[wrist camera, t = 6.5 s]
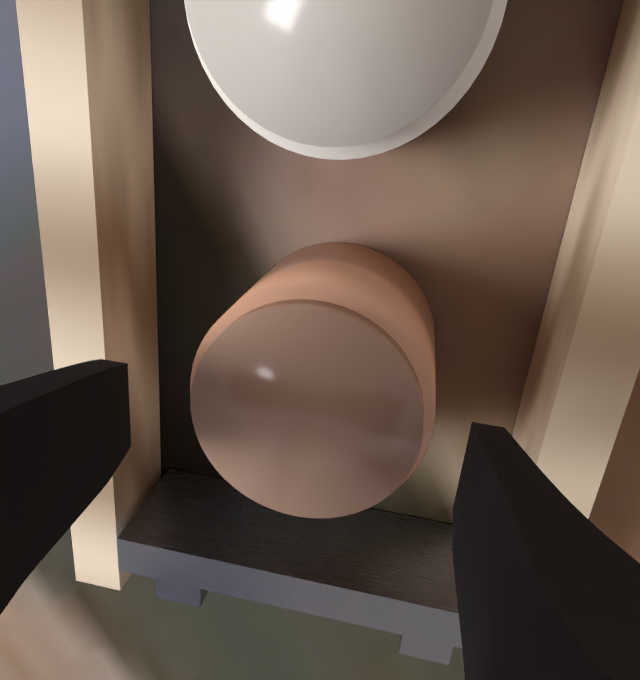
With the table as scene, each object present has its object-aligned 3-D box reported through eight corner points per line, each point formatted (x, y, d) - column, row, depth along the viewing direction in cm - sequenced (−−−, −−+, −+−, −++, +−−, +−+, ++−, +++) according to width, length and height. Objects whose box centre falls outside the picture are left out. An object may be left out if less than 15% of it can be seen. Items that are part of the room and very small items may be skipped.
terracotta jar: (410, 437, 17) (403, 553, 13) (238, 396, 18) (172, 493, 13) (457, 265, 15) (467, 330, 11) (259, 224, 16) (188, 269, 11)
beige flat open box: (517, 602, 19) (531, 686, 16) (124, 518, 21) (76, 580, 18) (764, -214, 11) (876, -327, 8) (81, -223, 13) (-17, -316, 10)
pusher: (453, 625, 20) (456, 725, 16) (170, 562, 21) (123, 642, 18) (477, 529, 18) (486, 619, 15) (169, 468, 19) (116, 538, 16)
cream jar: (464, 157, 14) (476, 179, 10) (251, 134, 15) (169, 144, 10) (512, -114, 12) (558, -253, 7) (262, -124, 13) (164, -254, 8)
